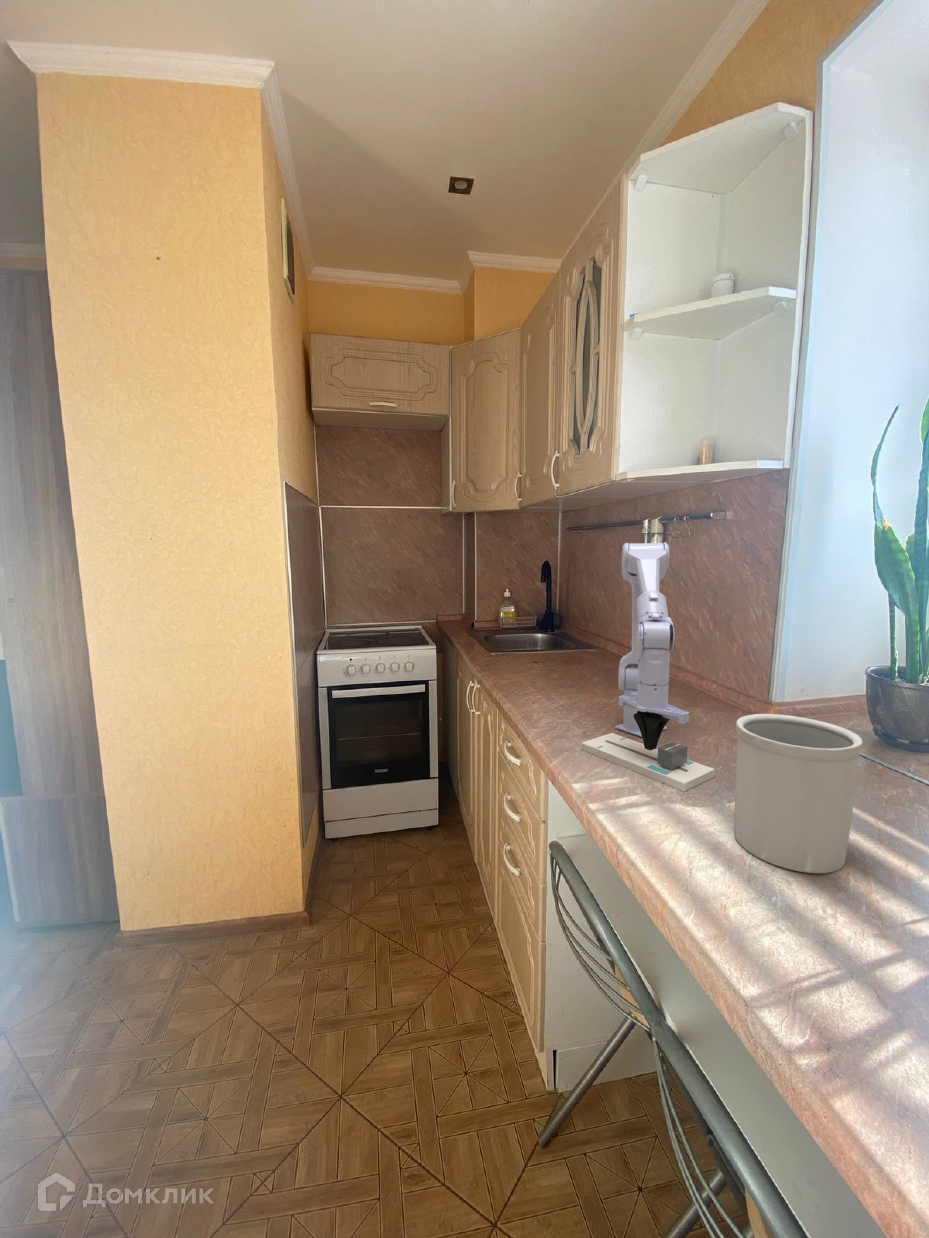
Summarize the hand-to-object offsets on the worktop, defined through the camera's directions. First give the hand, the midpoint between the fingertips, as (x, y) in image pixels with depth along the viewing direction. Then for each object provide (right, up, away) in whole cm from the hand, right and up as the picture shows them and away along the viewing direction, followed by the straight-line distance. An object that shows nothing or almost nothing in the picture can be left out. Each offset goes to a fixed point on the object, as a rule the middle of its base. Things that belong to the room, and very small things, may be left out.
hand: (650, 748), depth 101 cm
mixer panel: (-1, -3, +2) cm, 4 cm away
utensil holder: (+10, -7, -27) cm, 30 cm away
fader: (+3, -2, -4) cm, 5 cm away
